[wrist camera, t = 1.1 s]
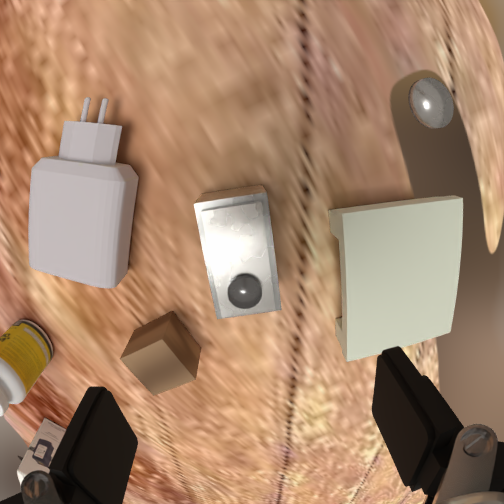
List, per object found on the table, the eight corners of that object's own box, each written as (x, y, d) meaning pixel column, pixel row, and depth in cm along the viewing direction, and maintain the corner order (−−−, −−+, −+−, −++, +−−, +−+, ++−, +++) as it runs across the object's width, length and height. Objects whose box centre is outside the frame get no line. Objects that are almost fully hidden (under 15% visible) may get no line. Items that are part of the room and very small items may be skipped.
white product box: (69, 453, 38) (48, 504, 26) (44, 440, 37) (21, 488, 25) (71, 431, 35) (46, 488, 24) (44, 416, 34) (15, 470, 23)
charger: (155, 106, 23) (130, 270, 28) (66, 99, 22) (50, 250, 27) (139, 98, 19) (112, 291, 23) (39, 93, 18) (25, 267, 22)
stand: (327, 204, 26) (342, 213, 23) (438, 191, 26) (462, 198, 23) (335, 338, 31) (346, 361, 27) (432, 314, 31) (450, 332, 27)
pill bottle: (33, 310, 29) (-23, 368, 18) (64, 355, 31) (20, 421, 20) (7, 325, 29) (-44, 377, 18) (35, 365, 31) (-6, 424, 20)
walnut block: (134, 329, 30) (120, 358, 25) (172, 310, 29) (162, 339, 24) (162, 364, 31) (153, 395, 26) (200, 347, 31) (195, 379, 26)
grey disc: (403, 79, 23) (408, 77, 22) (442, 79, 23) (447, 78, 22) (413, 129, 25) (419, 129, 24) (451, 127, 25) (457, 126, 24)
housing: (202, 193, 26) (190, 207, 20) (261, 184, 26) (268, 195, 20) (220, 290, 29) (216, 328, 22) (274, 282, 29) (284, 319, 22)
